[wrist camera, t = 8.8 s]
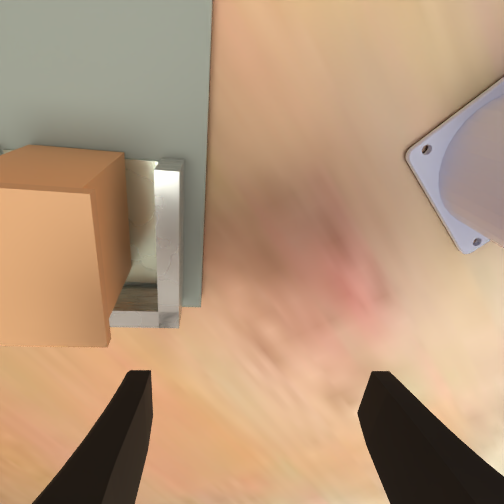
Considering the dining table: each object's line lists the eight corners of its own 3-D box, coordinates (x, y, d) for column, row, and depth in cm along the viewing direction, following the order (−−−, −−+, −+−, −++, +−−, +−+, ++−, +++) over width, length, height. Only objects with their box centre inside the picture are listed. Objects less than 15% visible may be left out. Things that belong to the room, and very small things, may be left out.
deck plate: (-90, -80, 12) (-119, -93, 11) (214, -34, 14) (213, -43, 13) (8, 289, 20) (-4, 301, 19) (201, 295, 21) (200, 307, 20)
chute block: (19, 143, 15) (-91, 181, 10) (133, 153, 16) (89, 194, 10) (42, 263, 18) (-33, 345, 12) (139, 267, 18) (107, 347, 13)
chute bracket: (-26, 141, 15) (-68, 153, 13) (184, 158, 16) (179, 171, 14) (13, 294, 19) (-14, 324, 16) (183, 299, 20) (178, 328, 17)
